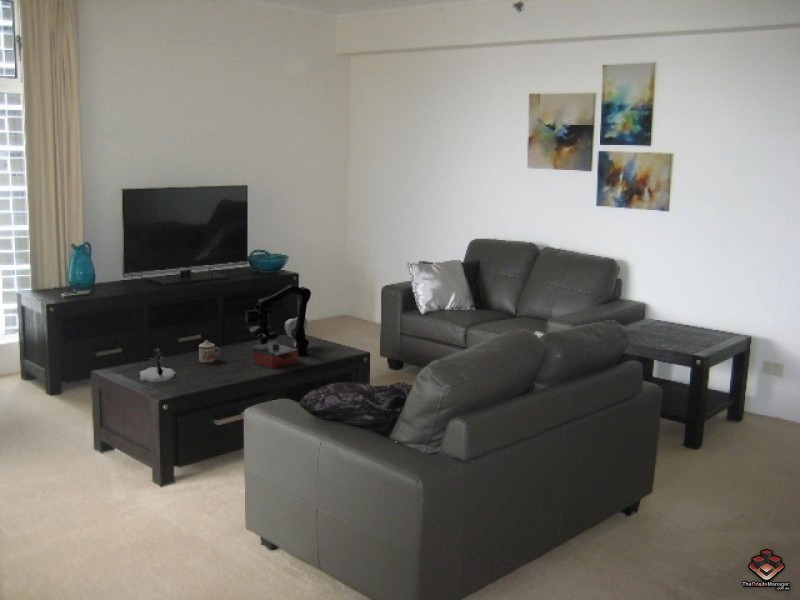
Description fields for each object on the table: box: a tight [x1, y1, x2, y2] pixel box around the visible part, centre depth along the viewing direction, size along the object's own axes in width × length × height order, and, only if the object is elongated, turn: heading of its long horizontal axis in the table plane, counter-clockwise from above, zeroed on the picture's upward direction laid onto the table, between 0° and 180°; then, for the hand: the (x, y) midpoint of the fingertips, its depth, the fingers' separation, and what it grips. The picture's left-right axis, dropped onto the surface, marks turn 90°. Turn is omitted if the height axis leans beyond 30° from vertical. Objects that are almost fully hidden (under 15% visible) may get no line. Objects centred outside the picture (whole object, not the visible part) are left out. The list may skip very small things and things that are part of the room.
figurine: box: [139, 348, 177, 383], centre depth 456 cm, size 20×18×16 cm
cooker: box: [253, 342, 299, 370], centre depth 488 cm, size 19×18×9 cm
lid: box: [253, 340, 296, 355], centre depth 488 cm, size 16×18×5 cm
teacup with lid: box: [198, 340, 221, 364], centre depth 489 cm, size 12×9×12 cm
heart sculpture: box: [284, 316, 308, 347], centre depth 520 cm, size 16×5×18 cm, turn 142°
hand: (263, 347), depth 495 cm, fingers closed
